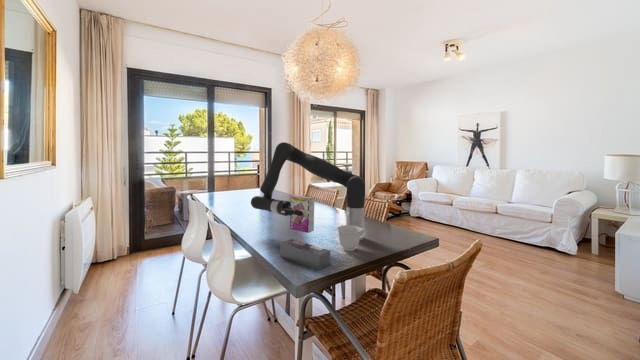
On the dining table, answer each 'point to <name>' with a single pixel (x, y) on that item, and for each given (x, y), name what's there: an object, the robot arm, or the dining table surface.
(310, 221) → the candy bar box
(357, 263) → the dining table surface
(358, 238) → the teacup
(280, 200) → the robot arm
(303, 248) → the box
